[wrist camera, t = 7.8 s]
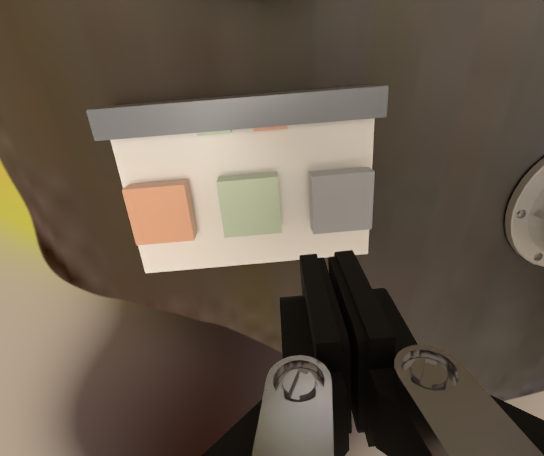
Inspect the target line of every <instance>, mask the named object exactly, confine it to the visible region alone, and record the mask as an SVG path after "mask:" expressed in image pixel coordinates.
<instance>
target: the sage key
mask: <svg viewBox="0 0 544 456" xmlns="http://www.w3.org/2000/svg"><path fill="white" fill-rule="evenodd" d="M216 183H217V190H218V197H219V204H220V211H221V218H222V224H223V231H224V238H228V237H240V236H251V235H263V234H274V233H282V227H281V212H280V197H279V183H278V174H277V172H269V173H257V174H245V175H233V176H221V177H218V179H217V182H216Z"/></svg>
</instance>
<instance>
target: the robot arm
mask: <svg viewBox="0 0 544 456" xmlns="http://www.w3.org/2000/svg"><path fill="white" fill-rule="evenodd" d="M505 230H506V236H507V239H508V241H509V243H510V245H511V247H512V248H513V249H514V250H515V252H516V253H517V254H519V255H520V256H521V257H523V258H524V259H526V260H527V261H529V262H531V263H532V264H535V265H538V266H542V267H544V158H543V159H542V160H540V161H539V162H538V163H537V164H536V165H534V166H533V167H532V168H531V169H530V171H529V172H528V173H527V174H526V175H525V176H524V177H523V178H522V180H521V181H520V183H519V184H518V186H517V187H516V189H515V190H514V193H513V195H512V197H511V199H510V201H509V204H508V207H507V211H506V216H505ZM299 257H300V270H301V282H302V294H303V296H292V297H282V298H280V312H281V332H282V352H283V359H282V360H280V361H279V362H277V363H276V364H275V365H274V366H273V367H272V368H271V369H270V371H269V373H268V376H267V378H266V384H265V389H264V394H263V399H262V400H261V401H260V402H259V403H258V404H257V405H255V406H254V407H253V408H252V409H251V410H250V411H249V412H248V413H247V414H246V415H245V416H244V417H243V418H242V419H241V420H239V421H238V422H237V423H236V424H235V425H234V426H233V427H232V428H231V429H230V430H229V431H228V432H227V433H226V434H224V435H223V436H222V437H221V438H220V439H219V440H218V441H217V442H216V443H215V444H214V445H213V446H212V447H210V448H209V449H208V450H207V451H206V452H205V453H204V454H203V455H202V456H345V454H346V453H347V452H348V451H349V433H351V432H352V430H351V429H352V426H351V410H352V414H353V418H354V422H355V426H356V429H357V432H358V433H361V432H365V435H366V439H367V442H368V446H369V447H372V446H376V448H377V449H379V450H380V451H382V452H383V453H385V454H386V455H387V456H544V420H542V419H540V418H538V417H535V416H533V415H531V414H529V413H527V412H525V411H523V410H521V409H519V408H516V407H514V406H512V405H510V404H508V403H506V402H504V401H502V400H500V399H498V398H495V397H493V396H491V395H489V394H488V393H487V392H486V390H485V389H484V388H483V387H482V386H481V385H480V384H479V383H478V382H477V380H476V379H475V378H474V377H473V376H472V375H471V374H470V373H469V372H468V370H467V369H466V368H465V367H464V366H463V365H462V364H461V363H460V362H459V361H458V360H457V359H456V358H455V357H454V356H452V355H451V354H449V353H447V352H446V351H444V350H442V349H439V348H436V347H433V346H427V345H418V344H417V343H416V341H415V339H414V337H413V336H412V334H411V332H410V330H409V328H408V327H407V325H406V323H405V321H404V320H403V318H402V316H401V314H400V313H399V311H398V309H397V307H396V306H395V304H394V302H393V300H392V299H391V297H390V295H389V293H388V292H387V290H386V289H385V288H378V289H372V288H371V286H370V284H369V282H368V280H367V278H366V276H365V274H364V272H363V270H362V268H361V266H360V264H359V262H358V260H357V258H356V256H355V254H354V252H353V250H348V251H338V252H335V253H334V256H333V257H329V258H328V264H329V273H328V269H327V266H326V263H325V260H324V257H323V258H318V257H317V254H307V255H300V256H299Z"/></svg>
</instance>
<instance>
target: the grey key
mask: <svg viewBox="0 0 544 456" xmlns="http://www.w3.org/2000/svg"><path fill="white" fill-rule="evenodd" d="M374 177H375V171H373V170H372V169H371V168H370V167H358V168H346V169H334V170H322V171H310V172H309V198H310V227H311V230H312V232H313V234H322V233H333V232H345V231H356V230H368V229H372V216H373V196H374Z"/></svg>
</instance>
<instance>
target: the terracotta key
mask: <svg viewBox="0 0 544 456" xmlns="http://www.w3.org/2000/svg"><path fill="white" fill-rule="evenodd" d="M122 193H123V197H124V200H125V204H126V208H127V212H128V215H129V219H130V223H131V227H132V231H133V234H134V238H135V242H136V245H147V244H159V243H171V242H182V241H194V240H195V237H196V235H197V228H196V223H195V217H194V212H193V206H192V201H191V195H190V189H189V184H188V179H185V180H174V181H162V182H150V183H138V184H128V185H127V186H126V187H125V188H124V189H122Z"/></svg>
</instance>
